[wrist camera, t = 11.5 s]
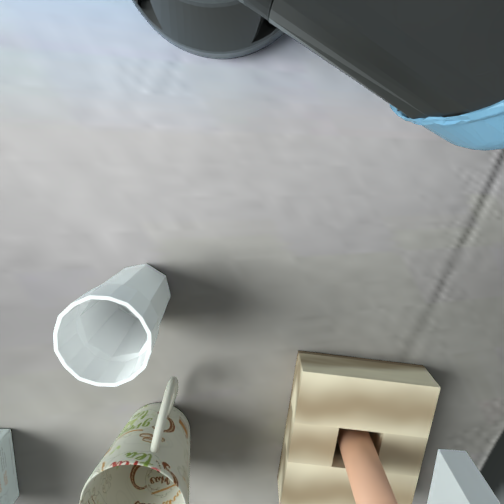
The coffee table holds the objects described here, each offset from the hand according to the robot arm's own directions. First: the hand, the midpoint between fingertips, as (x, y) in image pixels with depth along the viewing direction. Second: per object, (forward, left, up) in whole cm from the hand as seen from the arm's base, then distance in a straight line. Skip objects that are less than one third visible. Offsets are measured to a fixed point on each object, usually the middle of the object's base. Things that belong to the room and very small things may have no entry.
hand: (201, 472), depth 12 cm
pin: (+16, +13, -27) cm, 34 cm away
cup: (+5, -8, -28) cm, 29 cm away
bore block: (+16, +13, -28) cm, 34 cm away
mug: (+17, -5, -28) cm, 33 cm away
